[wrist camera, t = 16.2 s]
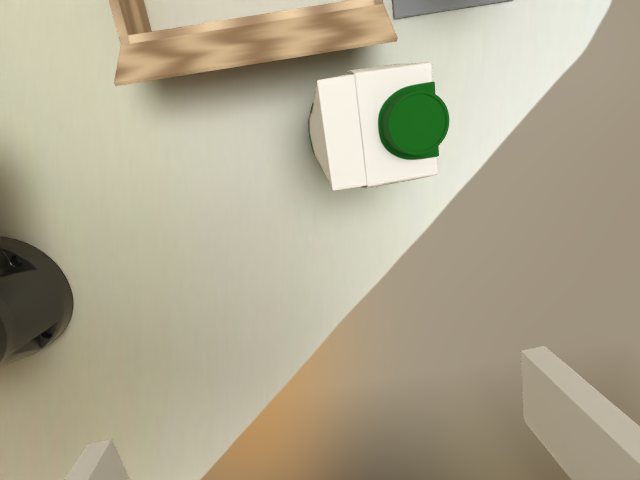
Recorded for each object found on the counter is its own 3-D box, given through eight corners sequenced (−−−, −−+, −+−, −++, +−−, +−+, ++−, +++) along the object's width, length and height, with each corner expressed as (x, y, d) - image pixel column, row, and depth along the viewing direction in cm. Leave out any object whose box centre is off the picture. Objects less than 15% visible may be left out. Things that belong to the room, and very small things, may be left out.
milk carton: (389, 162, 44) (458, 185, 25) (313, 174, 44) (325, 206, 25) (381, 83, 42) (452, 42, 23) (301, 95, 42) (304, 65, 23)
